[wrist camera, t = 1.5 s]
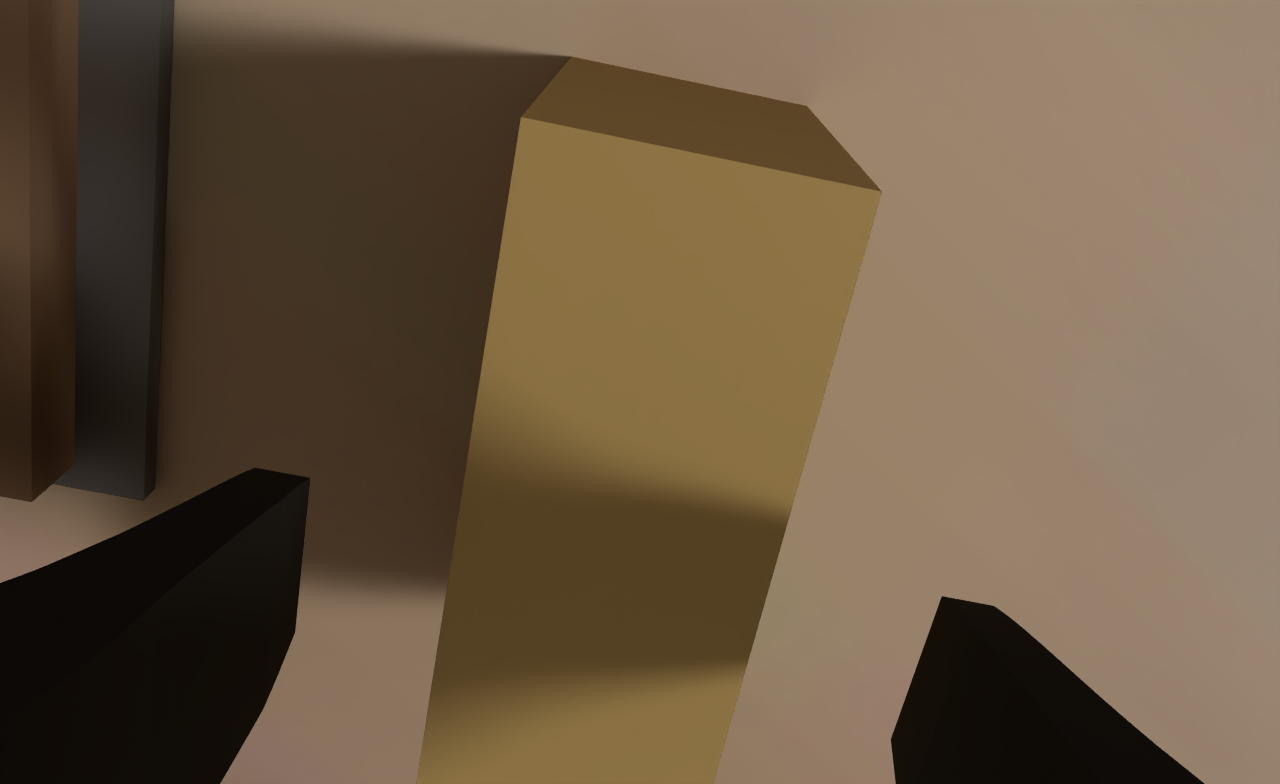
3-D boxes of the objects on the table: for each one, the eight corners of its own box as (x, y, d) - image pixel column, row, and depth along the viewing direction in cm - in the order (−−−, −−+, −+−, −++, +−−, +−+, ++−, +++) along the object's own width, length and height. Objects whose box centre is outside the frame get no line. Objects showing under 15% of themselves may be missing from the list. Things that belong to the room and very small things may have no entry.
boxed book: (680, 603, 22) (686, 874, 16) (484, 568, 22) (409, 827, 16) (806, 105, 19) (881, 191, 12) (571, 56, 18) (520, 117, 12)
